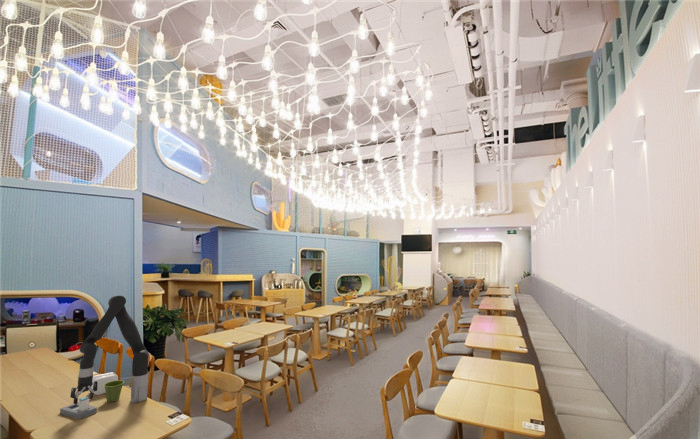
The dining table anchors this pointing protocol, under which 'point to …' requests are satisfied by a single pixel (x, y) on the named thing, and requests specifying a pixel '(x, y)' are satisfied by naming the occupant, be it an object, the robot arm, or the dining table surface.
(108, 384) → the plant pot
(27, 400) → the dining table surface
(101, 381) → the cable organizer
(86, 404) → the plug peg
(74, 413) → the socket board
